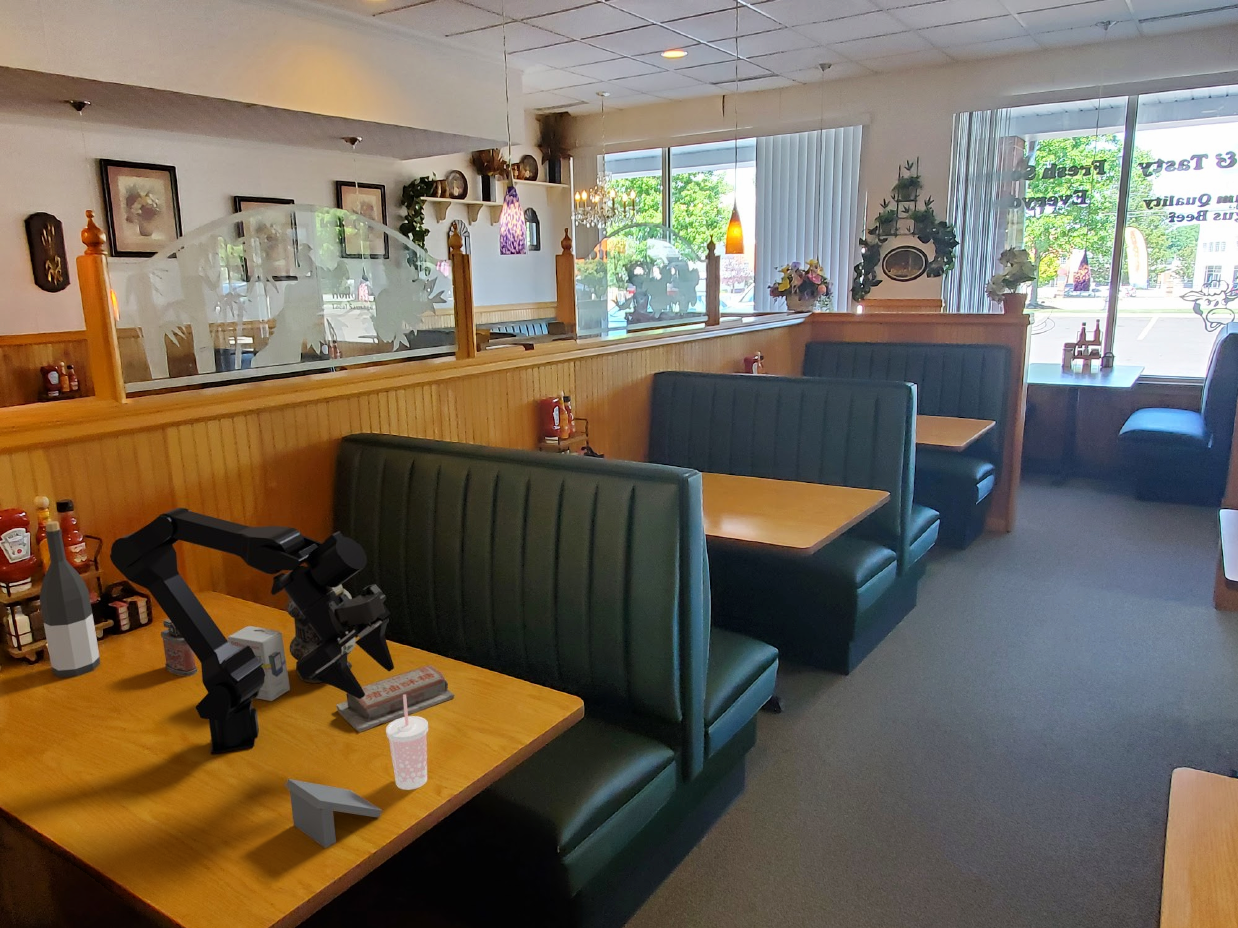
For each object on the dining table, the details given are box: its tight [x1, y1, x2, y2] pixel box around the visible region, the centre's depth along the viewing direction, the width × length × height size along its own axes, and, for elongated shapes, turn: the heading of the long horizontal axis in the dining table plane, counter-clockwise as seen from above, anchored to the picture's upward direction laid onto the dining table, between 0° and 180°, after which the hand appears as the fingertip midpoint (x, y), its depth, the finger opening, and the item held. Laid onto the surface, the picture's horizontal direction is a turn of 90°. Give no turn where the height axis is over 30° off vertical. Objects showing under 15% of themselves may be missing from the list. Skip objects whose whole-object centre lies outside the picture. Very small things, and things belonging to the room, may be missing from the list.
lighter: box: [160, 618, 198, 677], centre depth 168 cm, size 8×3×10 cm, turn 58°
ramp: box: [284, 778, 383, 849], centre depth 120 cm, size 10×8×7 cm
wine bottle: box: [39, 521, 101, 678], centre depth 167 cm, size 8×8×30 cm
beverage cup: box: [385, 694, 429, 791], centre depth 128 cm, size 6×6×14 cm
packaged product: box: [335, 664, 455, 733], centre depth 153 cm, size 18×5×10 cm
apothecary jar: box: [285, 583, 357, 684], centre depth 165 cm, size 12×12×18 cm
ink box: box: [227, 625, 291, 702], centre depth 157 cm, size 9×5×12 cm, turn 68°
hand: (377, 682), depth 133 cm, fingers open, 9 cm apart
